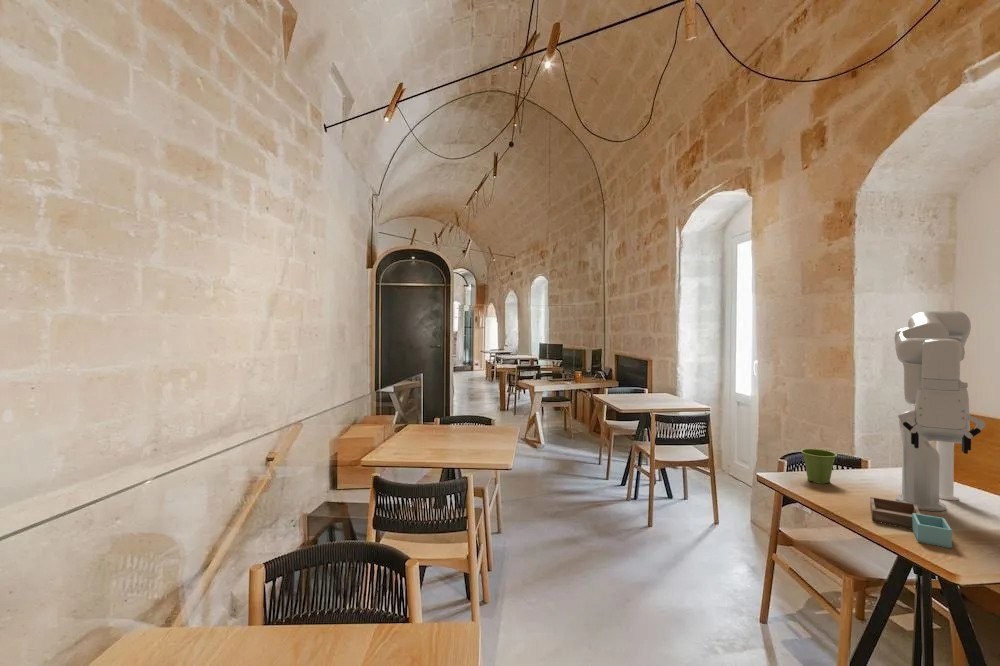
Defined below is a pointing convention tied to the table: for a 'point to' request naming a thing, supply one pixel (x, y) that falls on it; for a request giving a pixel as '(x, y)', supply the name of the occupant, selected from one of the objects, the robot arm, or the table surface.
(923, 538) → the teal crate
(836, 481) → the table surface
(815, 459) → the plant pot
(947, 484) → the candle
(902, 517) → the walnut crate
